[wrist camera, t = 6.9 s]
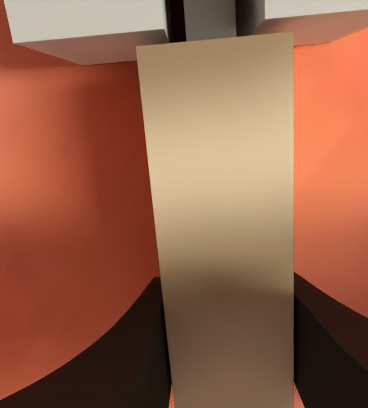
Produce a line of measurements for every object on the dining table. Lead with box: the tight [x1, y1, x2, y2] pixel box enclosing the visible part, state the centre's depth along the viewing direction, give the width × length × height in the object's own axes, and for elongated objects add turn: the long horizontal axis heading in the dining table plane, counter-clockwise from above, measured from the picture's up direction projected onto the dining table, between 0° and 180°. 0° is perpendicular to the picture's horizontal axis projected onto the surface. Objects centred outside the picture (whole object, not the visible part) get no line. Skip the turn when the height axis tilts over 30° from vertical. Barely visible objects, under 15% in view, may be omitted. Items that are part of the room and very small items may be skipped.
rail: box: [136, 0, 294, 408], centre depth 11 cm, size 15×4×5 cm, turn 5°
